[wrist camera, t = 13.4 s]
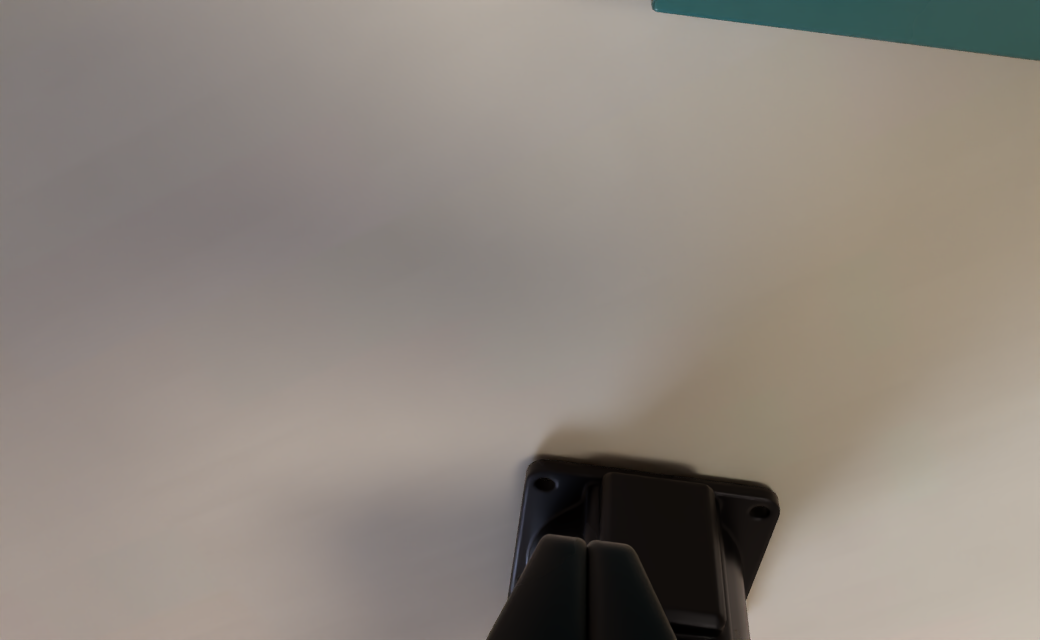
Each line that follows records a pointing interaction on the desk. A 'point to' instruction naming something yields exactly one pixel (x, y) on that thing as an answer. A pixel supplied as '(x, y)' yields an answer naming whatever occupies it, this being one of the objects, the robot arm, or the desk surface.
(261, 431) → the desk surface
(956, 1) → the teal button platform
